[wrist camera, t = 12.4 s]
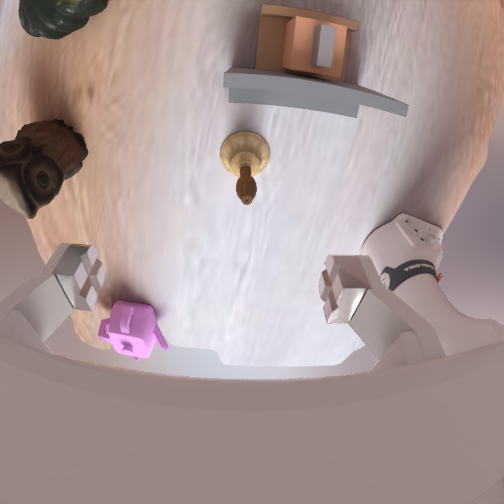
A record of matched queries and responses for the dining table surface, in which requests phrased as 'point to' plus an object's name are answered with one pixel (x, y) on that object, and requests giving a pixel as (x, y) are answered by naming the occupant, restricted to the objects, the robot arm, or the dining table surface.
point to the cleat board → (300, 73)
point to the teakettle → (132, 329)
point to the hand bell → (245, 161)
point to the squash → (57, 16)
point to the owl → (39, 164)
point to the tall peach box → (314, 46)
